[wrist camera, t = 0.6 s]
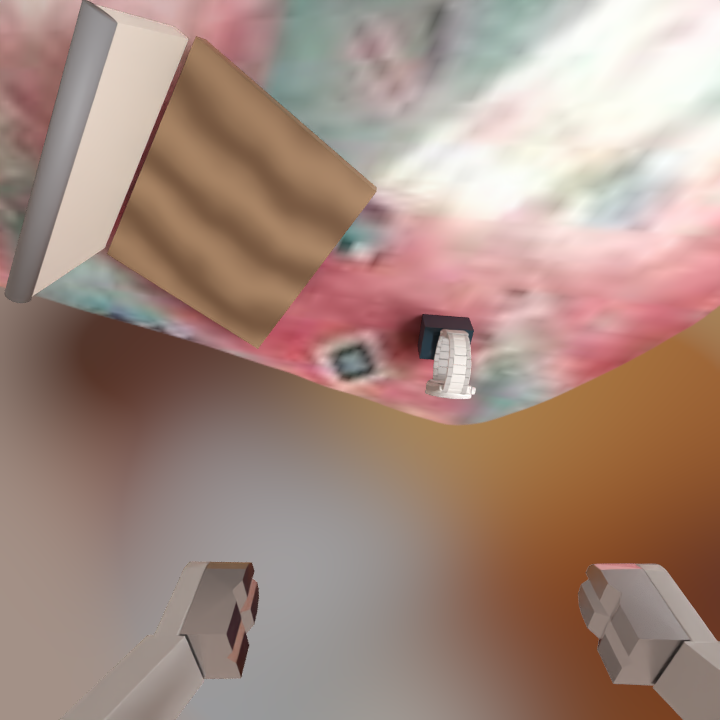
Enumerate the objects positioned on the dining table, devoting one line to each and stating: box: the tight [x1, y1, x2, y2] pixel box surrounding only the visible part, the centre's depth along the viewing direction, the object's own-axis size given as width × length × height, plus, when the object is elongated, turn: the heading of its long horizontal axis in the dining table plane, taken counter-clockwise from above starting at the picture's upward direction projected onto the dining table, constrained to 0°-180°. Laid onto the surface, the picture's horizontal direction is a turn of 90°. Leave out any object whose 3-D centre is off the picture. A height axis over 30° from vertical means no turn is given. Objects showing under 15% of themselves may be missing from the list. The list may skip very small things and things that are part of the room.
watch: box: [418, 314, 475, 399], centre depth 43 cm, size 6×8×11 cm
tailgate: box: [5, 0, 189, 303], centre depth 30 cm, size 21×2×12 cm, turn 142°
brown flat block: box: [107, 36, 377, 349], centre depth 40 cm, size 22×18×4 cm
